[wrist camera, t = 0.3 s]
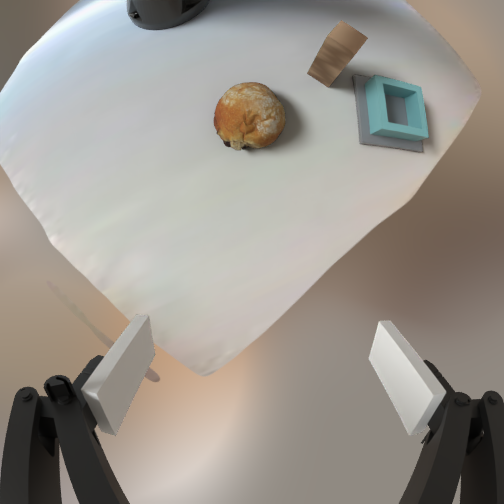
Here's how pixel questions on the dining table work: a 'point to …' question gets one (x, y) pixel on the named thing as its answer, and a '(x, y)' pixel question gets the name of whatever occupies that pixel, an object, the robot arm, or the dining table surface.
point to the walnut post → (336, 53)
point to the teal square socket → (390, 113)
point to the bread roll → (249, 116)
